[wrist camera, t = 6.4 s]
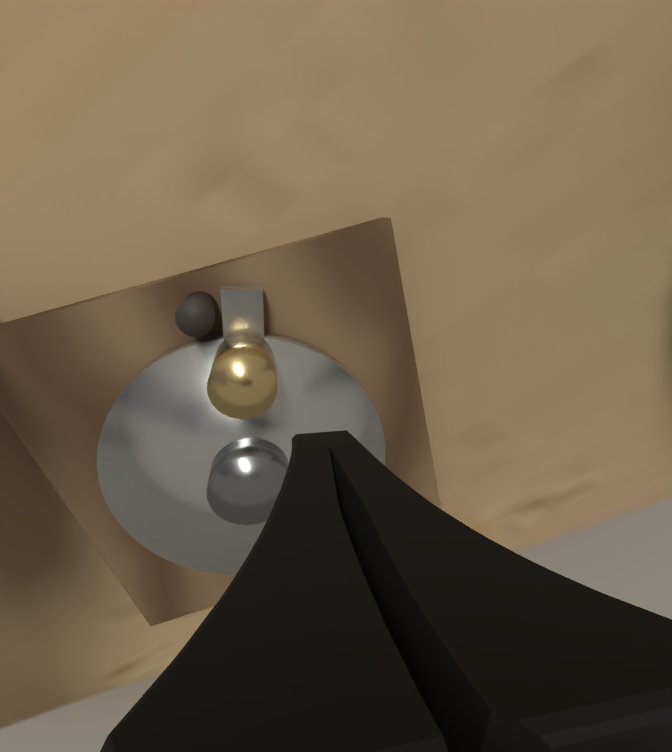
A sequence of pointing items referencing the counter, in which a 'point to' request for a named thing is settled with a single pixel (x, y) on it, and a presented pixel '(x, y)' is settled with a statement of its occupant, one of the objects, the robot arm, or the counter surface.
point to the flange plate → (222, 435)
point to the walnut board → (191, 321)
